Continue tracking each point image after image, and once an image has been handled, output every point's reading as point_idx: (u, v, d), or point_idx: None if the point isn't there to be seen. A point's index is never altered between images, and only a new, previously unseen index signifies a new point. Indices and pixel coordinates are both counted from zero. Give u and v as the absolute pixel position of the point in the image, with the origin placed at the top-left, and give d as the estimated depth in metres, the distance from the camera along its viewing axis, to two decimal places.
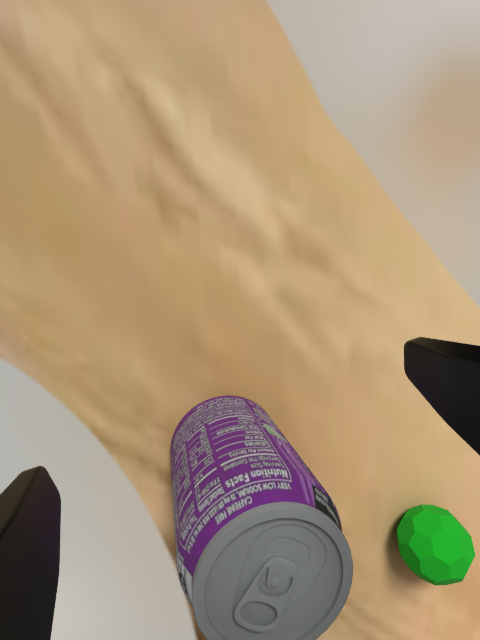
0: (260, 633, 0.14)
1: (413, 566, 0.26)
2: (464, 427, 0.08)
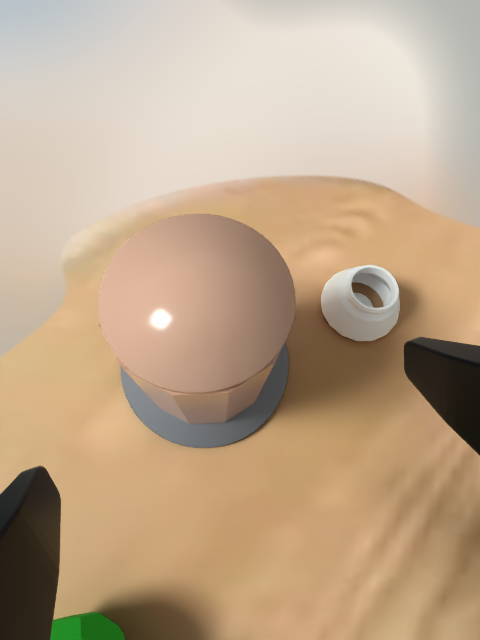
0: None
1: None
2: (464, 427, 0.08)
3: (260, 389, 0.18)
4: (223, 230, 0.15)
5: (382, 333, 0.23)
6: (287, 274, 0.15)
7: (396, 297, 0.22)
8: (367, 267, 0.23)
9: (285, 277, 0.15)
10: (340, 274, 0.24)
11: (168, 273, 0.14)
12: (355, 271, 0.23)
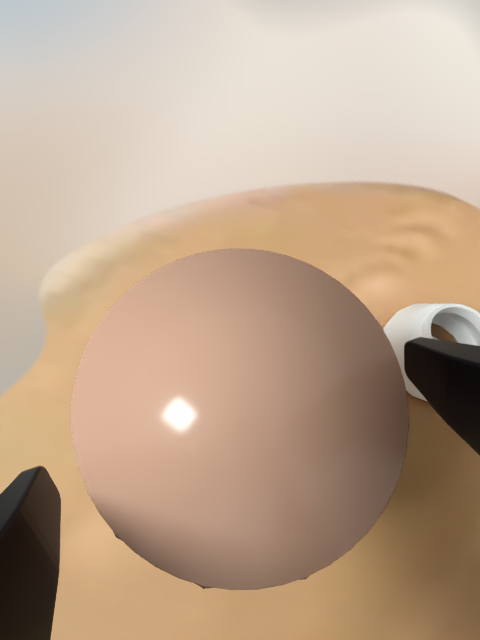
0: None
1: None
2: (464, 427, 0.08)
3: None
4: (277, 275, 0.09)
5: None
6: (388, 350, 0.09)
7: None
8: (449, 306, 0.17)
9: (385, 356, 0.09)
10: (408, 313, 0.18)
11: (190, 352, 0.09)
12: (434, 312, 0.17)
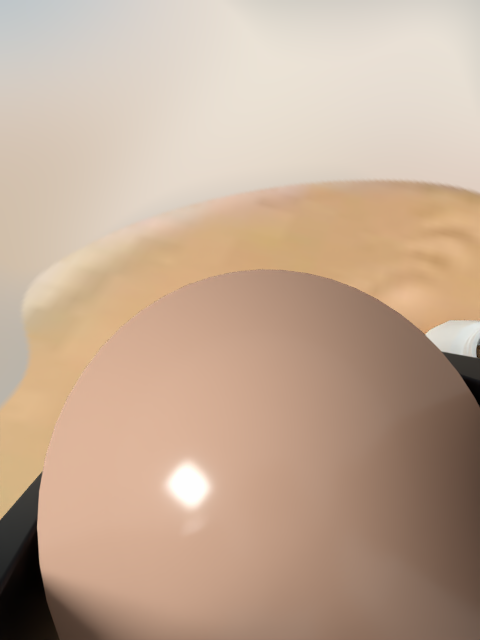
0: None
1: None
2: None
3: None
4: (319, 306, 0.07)
5: None
6: (474, 411, 0.06)
7: None
8: None
9: (471, 419, 0.06)
10: (446, 333, 0.16)
11: (205, 418, 0.06)
12: (479, 334, 0.14)
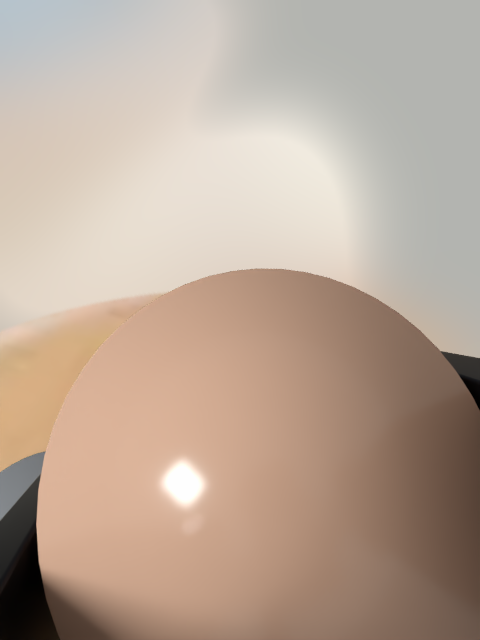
0: None
1: None
2: None
3: None
4: (317, 305, 0.07)
5: None
6: (471, 409, 0.07)
7: None
8: None
9: (469, 417, 0.06)
10: None
11: (204, 416, 0.06)
12: None
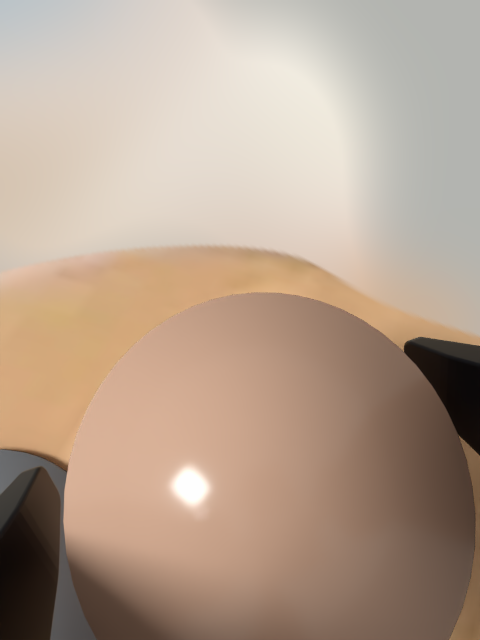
0: None
1: None
2: (464, 427, 0.08)
3: None
4: (309, 326, 0.08)
5: None
6: (445, 420, 0.07)
7: None
8: None
9: (442, 427, 0.07)
10: None
11: (208, 426, 0.07)
12: None
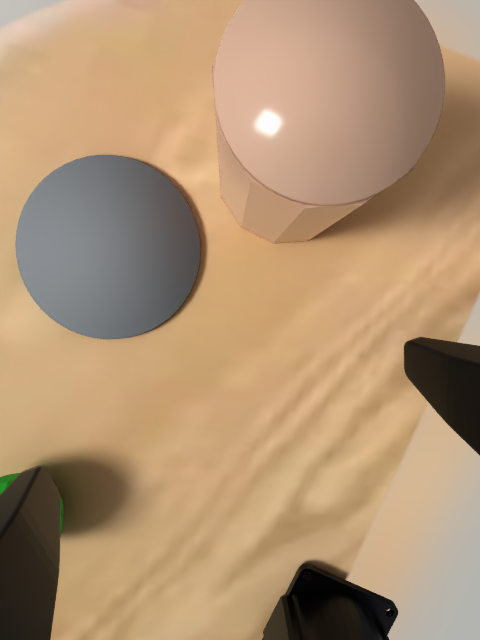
0: None
1: None
2: (464, 427, 0.08)
3: None
4: None
5: None
6: (437, 54, 0.12)
7: None
8: None
9: (434, 59, 0.12)
10: None
11: (293, 56, 0.12)
12: None
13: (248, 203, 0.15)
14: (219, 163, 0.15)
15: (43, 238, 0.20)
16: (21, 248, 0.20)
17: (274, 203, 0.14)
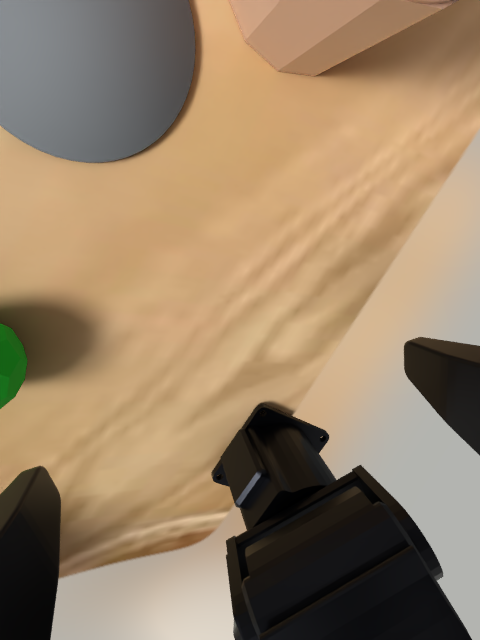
0: None
1: None
2: (464, 427, 0.08)
3: None
4: None
5: None
6: None
7: None
8: None
9: None
10: None
11: None
12: None
13: None
14: None
15: None
16: None
17: None
